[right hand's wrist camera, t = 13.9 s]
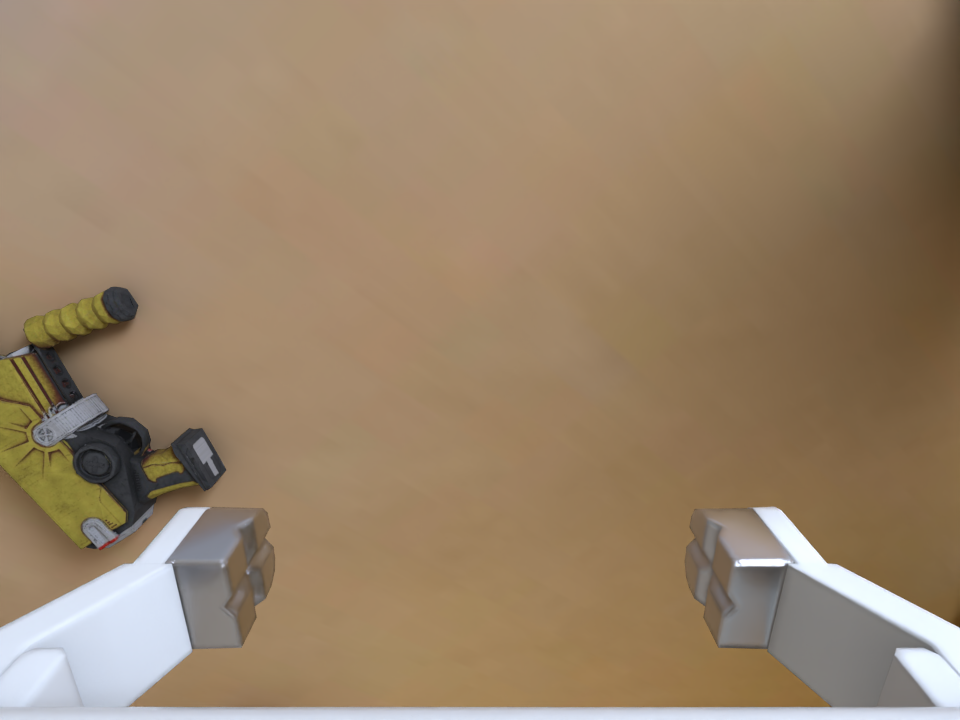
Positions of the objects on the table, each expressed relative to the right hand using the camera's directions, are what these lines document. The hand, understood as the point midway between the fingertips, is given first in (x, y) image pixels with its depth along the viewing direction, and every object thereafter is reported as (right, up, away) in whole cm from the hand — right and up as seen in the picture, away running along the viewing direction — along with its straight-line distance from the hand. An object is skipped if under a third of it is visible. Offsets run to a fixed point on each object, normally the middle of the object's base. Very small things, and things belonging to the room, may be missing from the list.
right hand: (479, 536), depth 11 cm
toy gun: (-30, +3, +32) cm, 44 cm away
